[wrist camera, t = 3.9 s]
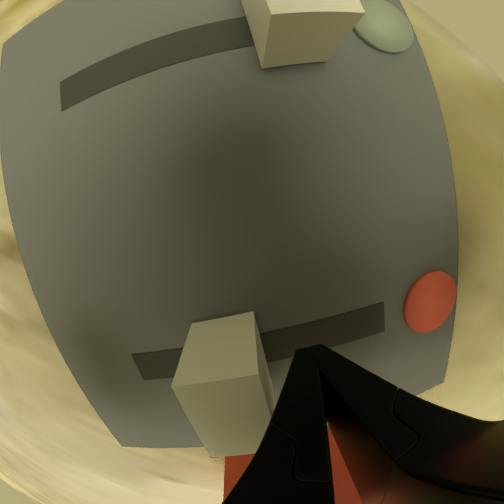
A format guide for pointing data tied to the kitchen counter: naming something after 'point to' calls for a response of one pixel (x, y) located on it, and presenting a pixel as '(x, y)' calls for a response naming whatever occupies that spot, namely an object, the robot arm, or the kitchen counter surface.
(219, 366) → the block
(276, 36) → the block
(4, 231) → the kitchen counter surface
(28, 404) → the kitchen counter surface
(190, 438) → the breaker panel
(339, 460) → the cap
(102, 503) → the kitchen counter surface
